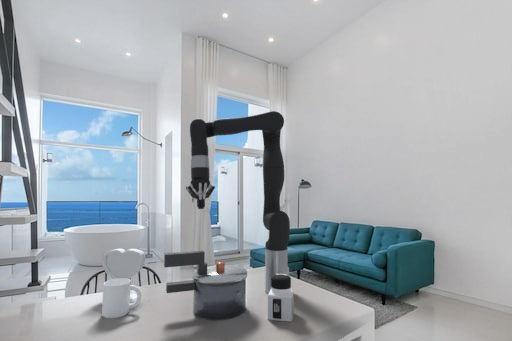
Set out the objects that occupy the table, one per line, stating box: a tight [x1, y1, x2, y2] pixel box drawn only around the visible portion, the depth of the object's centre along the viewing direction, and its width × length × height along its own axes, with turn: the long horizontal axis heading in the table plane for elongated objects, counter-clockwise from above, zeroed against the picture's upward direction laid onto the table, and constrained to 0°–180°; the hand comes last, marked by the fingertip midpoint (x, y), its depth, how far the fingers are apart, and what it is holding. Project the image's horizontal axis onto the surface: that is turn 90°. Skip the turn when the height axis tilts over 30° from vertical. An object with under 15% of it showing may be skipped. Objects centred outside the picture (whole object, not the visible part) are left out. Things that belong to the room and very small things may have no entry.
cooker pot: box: [165, 278, 247, 321], centre depth 98 cm, size 27×18×11 cm, turn 111°
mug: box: [101, 278, 142, 319], centre depth 95 cm, size 12×8×10 cm
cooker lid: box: [163, 250, 248, 284], centre depth 98 cm, size 28×19×9 cm, turn 112°
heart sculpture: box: [101, 247, 146, 300], centre depth 111 cm, size 16×5×18 cm, turn 89°
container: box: [267, 274, 295, 323], centre depth 94 cm, size 8×8×13 cm
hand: (201, 208), depth 117 cm, fingers closed
